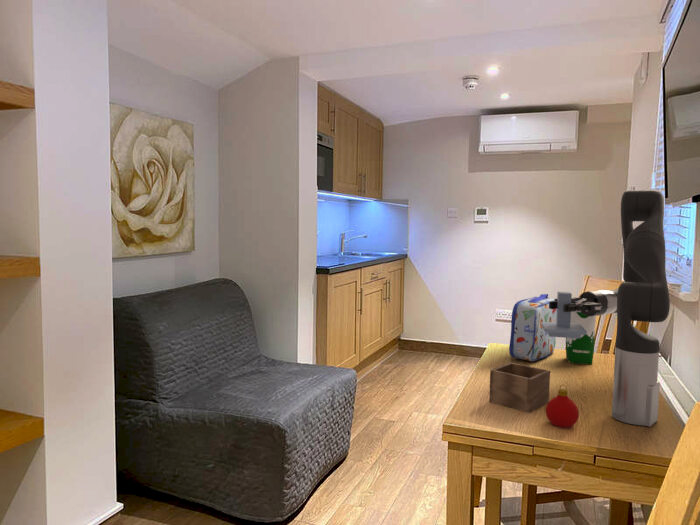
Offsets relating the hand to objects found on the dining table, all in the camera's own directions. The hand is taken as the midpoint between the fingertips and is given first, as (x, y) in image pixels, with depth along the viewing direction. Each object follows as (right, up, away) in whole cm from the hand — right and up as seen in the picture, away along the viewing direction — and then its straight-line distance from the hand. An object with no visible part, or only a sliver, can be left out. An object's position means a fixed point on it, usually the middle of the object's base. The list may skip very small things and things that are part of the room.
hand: (557, 306), depth 151 cm
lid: (+2, -8, +2) cm, 9 cm away
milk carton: (+19, -21, +28) cm, 40 cm away
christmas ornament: (-11, -26, -30) cm, 41 cm away
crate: (-16, -24, -16) cm, 33 cm away
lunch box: (+5, -21, +35) cm, 41 cm away
